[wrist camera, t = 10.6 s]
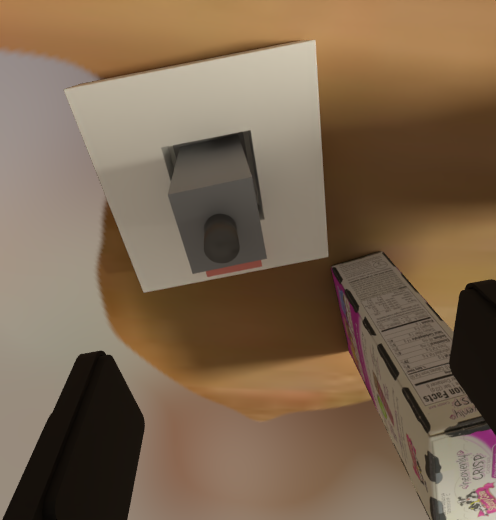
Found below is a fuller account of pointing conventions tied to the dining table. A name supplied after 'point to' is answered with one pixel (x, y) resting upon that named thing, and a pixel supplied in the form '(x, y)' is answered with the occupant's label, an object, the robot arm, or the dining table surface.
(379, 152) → the dining table surface
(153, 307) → the dining table surface
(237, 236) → the plug
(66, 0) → the dining table surface
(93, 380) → the robot arm
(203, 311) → the dining table surface
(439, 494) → the candy bar box
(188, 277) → the socket plate
